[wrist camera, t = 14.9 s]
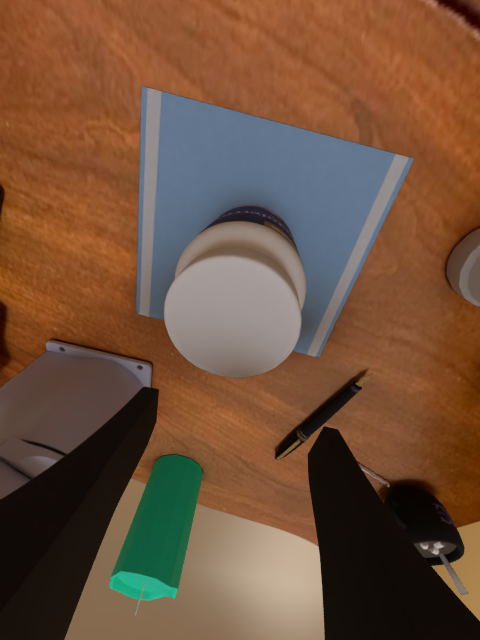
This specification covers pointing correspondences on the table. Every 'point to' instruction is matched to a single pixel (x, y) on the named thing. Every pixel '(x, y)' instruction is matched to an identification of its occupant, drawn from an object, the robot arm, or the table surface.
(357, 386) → the fountain pen
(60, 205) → the table surface
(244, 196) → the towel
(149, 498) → the candle
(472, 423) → the table surface
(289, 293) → the pill bottle
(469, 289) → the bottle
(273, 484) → the table surface
